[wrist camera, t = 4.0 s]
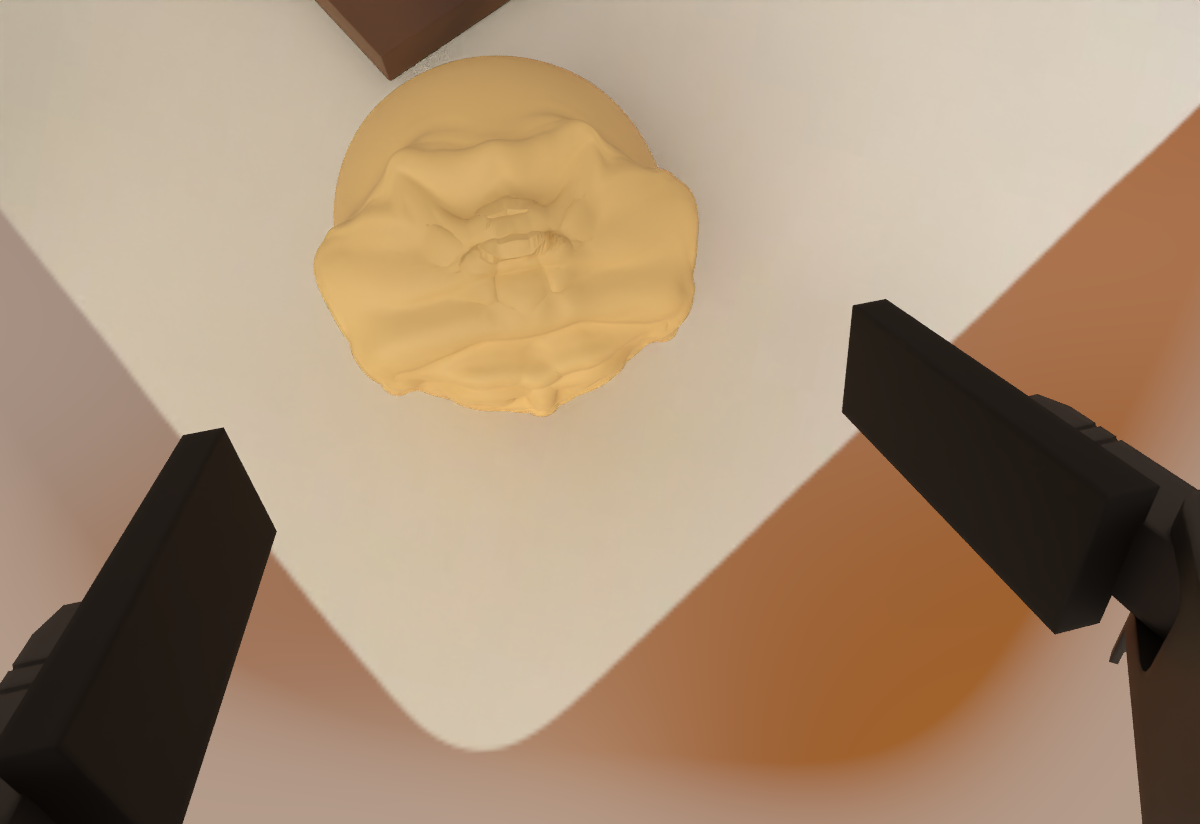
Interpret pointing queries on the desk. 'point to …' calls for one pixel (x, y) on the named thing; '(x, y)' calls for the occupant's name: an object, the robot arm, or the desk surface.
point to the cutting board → (405, 27)
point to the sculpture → (504, 238)
